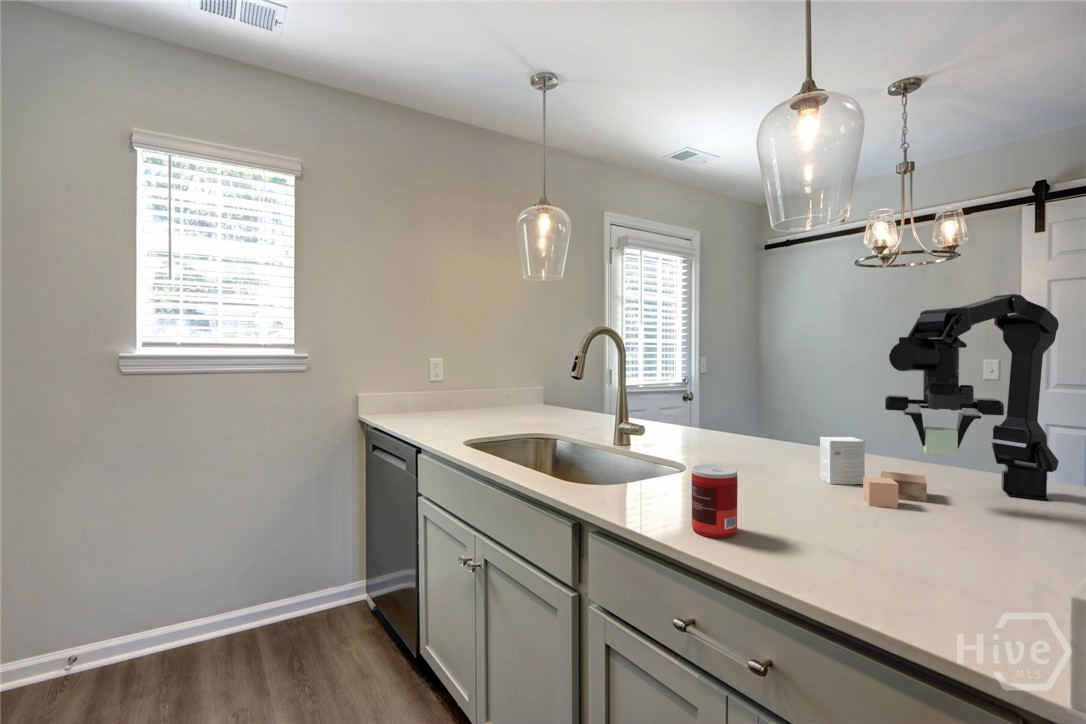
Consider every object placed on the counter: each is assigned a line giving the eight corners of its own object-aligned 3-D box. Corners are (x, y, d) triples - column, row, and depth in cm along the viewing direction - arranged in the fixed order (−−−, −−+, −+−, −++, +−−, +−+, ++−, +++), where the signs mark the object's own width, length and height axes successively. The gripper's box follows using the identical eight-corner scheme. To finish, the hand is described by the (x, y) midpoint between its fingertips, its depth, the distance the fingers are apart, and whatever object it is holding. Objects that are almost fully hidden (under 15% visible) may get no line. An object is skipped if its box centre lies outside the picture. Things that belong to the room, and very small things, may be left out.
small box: (853, 479, 127) (853, 436, 126) (865, 485, 121) (865, 440, 121) (819, 478, 127) (819, 436, 127) (829, 484, 122) (829, 440, 122)
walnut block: (924, 493, 114) (924, 475, 113) (926, 502, 107) (926, 483, 107) (881, 488, 118) (881, 471, 118) (880, 496, 111) (880, 478, 111)
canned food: (736, 526, 93) (736, 465, 93) (737, 541, 86) (738, 476, 86) (692, 521, 96) (692, 463, 96) (690, 536, 88) (690, 472, 88)
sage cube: (954, 452, 105) (954, 428, 105) (957, 456, 101) (957, 431, 101) (923, 449, 108) (924, 426, 108) (925, 454, 104) (926, 429, 104)
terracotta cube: (890, 501, 108) (890, 478, 108) (898, 508, 103) (898, 484, 103) (863, 499, 110) (863, 476, 110) (869, 506, 105) (869, 482, 105)
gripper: (886, 371, 103) (885, 449, 103) (1011, 372, 93) (1009, 459, 93) (885, 369, 112) (884, 440, 112) (998, 370, 102) (997, 449, 102)
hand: (940, 447), depth 105 cm, fingers closed on sage cube, 5 cm apart
